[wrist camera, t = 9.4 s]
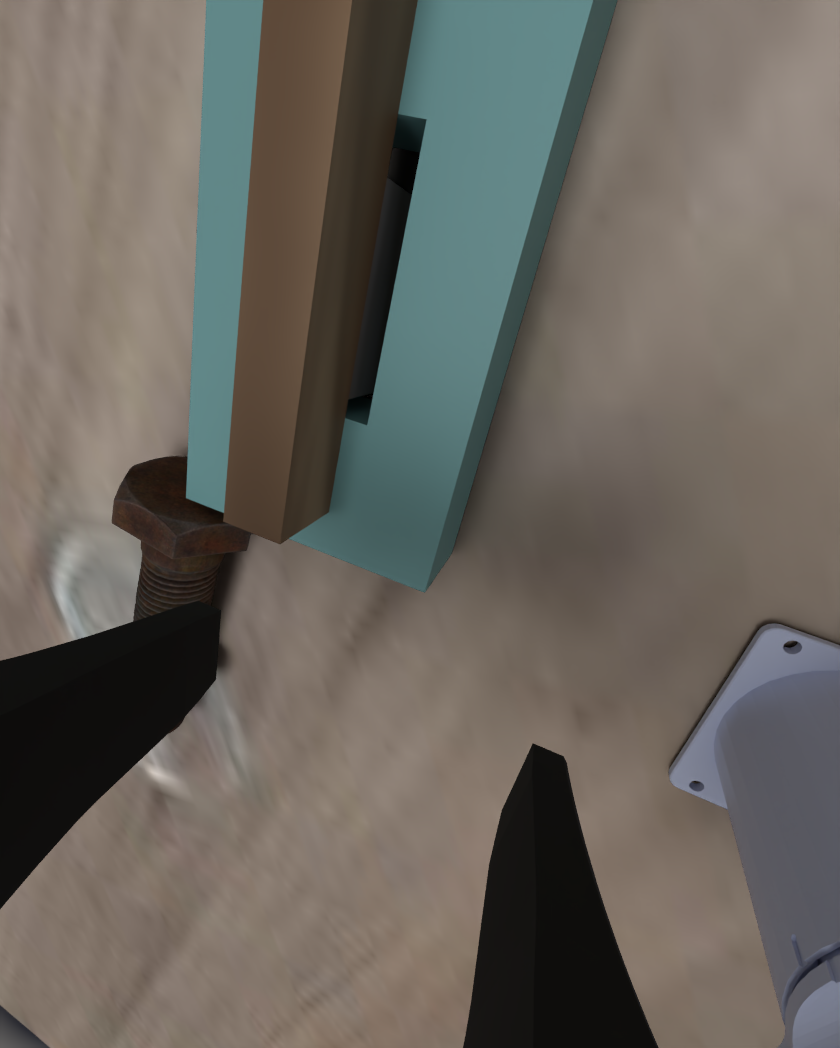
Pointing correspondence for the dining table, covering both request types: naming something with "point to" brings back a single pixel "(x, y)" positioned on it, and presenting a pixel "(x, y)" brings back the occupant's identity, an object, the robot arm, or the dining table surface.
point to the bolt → (172, 537)
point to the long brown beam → (314, 250)
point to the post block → (408, 260)
